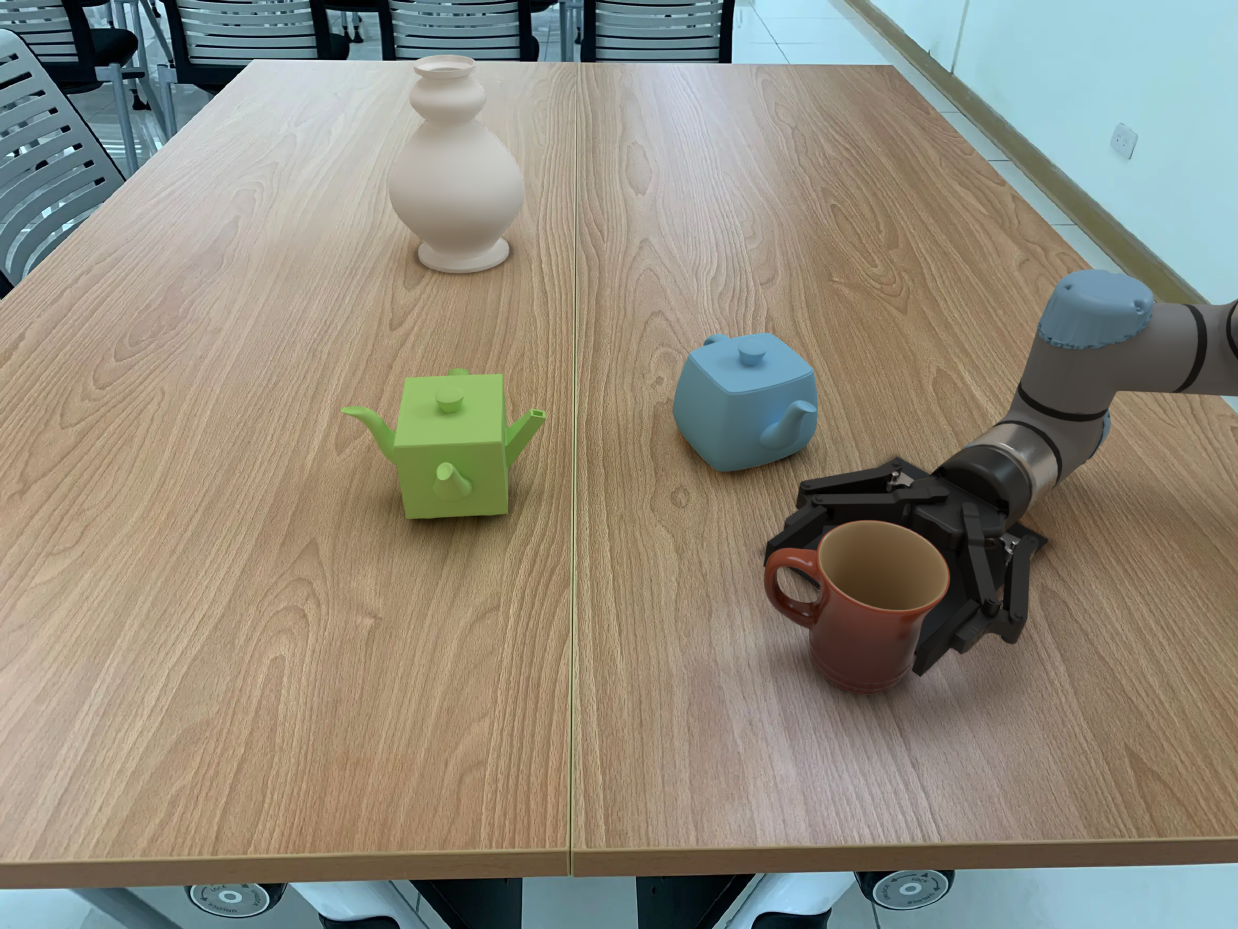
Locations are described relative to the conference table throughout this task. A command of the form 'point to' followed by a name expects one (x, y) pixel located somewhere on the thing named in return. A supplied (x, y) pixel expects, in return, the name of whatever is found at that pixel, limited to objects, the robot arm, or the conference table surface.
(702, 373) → the teapot
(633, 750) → the conference table surface
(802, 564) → the mug
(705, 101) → the conference table surface
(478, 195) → the decorative vase
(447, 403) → the kettle
